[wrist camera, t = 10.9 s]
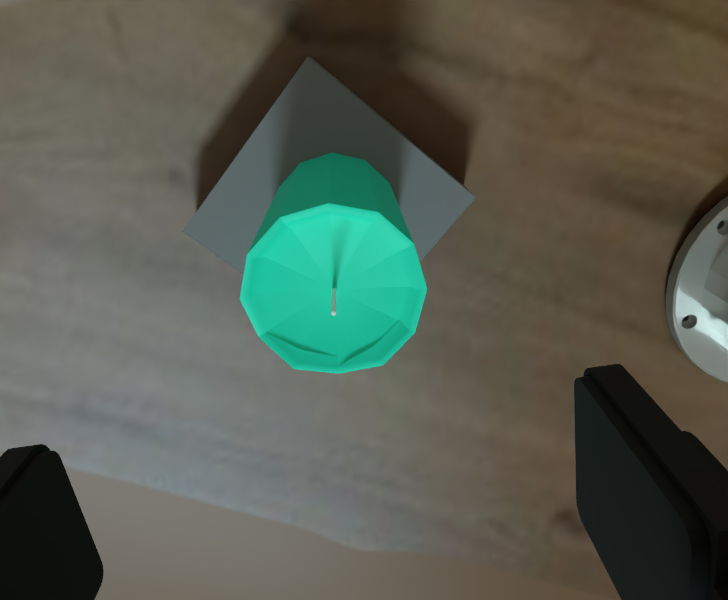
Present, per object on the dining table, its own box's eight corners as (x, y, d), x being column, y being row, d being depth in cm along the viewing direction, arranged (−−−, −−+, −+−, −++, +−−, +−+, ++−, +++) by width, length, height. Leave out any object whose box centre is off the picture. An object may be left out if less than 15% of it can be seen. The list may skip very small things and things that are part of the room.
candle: (267, 155, 28) (218, 218, 17) (397, 149, 28) (435, 209, 17) (278, 278, 30) (242, 406, 19) (399, 272, 30) (434, 396, 19)
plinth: (463, 185, 32) (475, 197, 29) (346, 323, 34) (346, 346, 32) (310, 56, 29) (307, 56, 26) (196, 216, 32) (182, 231, 29)
